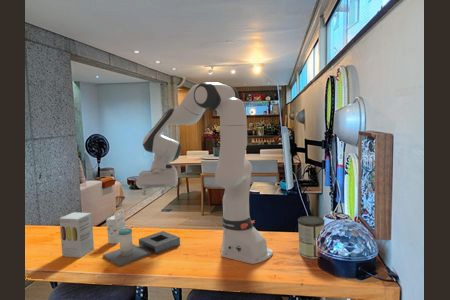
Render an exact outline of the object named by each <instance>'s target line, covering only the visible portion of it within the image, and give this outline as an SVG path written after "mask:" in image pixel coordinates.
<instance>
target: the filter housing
mask: <svg viewBox="0 0 450 300" xmlns="http://www.w3.org/2000/svg"><path fill="white" fill-rule="evenodd" d="M180 245H181V237H180V236H177V235H175V234H172V233H170V232H167V231H164V230H162V231H159V232H156V233H153V234H150V235H147V236H144V237H141V238H138V247H140V248H142V249H144V250H146V251H148V252H150V254H154V255H159V254H160V253H163V252H165V251H168V250H171V249H173V248H177V247H179V246H180Z"/></svg>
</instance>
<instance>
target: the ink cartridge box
mask: <svg viewBox="0 0 450 300" xmlns="http://www.w3.org/2000/svg"><path fill="white" fill-rule="evenodd" d="M124 209H125V208H120V209H119V210H117V211H115V212H114V214H113V215H112V216H110V217H108V218H107V219H106V220H105V222H106V231H107V241H108V242H107V243H108V244H120V239H119V232H118V231H119V230H121V229H125V228H126V227H127V226H126V216H125V210H124Z"/></svg>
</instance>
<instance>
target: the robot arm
mask: <svg viewBox="0 0 450 300" xmlns="http://www.w3.org/2000/svg"><path fill="white" fill-rule="evenodd" d="M185 94H186V95H184V97H183V99H182V101H181V102H180V103H179V105H177V106H175V107H170V108H169V109H167V111H166V112H165V113H164V114H163V115H162V116H161V118H160V119H159V120H158V122H156V124H155V125H154V127H153V128H152V129H151V130H149V132H148V133H146V135H145V136H144V137H143V140H142V146H143V149H144V150H145V151H146V152H149V153H153V154H154V157H153V161H152V163H151V165H150V166H151V167H150V169H149V170H142V171H141V172H139V173H138V176H137V179H136V180H135V185H136V186H137V188H138V189H142V195H143V196H147V195H148V191H147V189H150V188H152V189H153V188H154V189H155V188H156V189H157V188H164V189H162V190H161V195H162V196H164V195H166V194H167V191H168V190H169V189H170V188H176V187H177V186H178V183H179V182H178V181H179V177H178V175H179V174H178V169H177V168H176V166H175V165H173V164H171V162H175V161H176V160H178V159H179V157H180V154H181V152H182V146H181V143H180V142H179V141H178V140H175V139H172V138H170V137H169V136H165V135H162V133H163V132H164V131H165V130H166V128H168V126H170V125H181V126H182V125H183V126H192V125H194V124H197V123H198V122H199V121H200V119H201V118H202V117H203V115H204V113H205V111H206V110H208V111H211V112H214V111H216V112H217V113H218V114H219V131H220V132H219V133H220V134H219V135H220V138H219V139H220V142H219V143H220V144H219V154H218V160H217V167H216V170H215V171H214V179H215V182H216V183H217V185H218V186H220V187H221V188H223V189H224V192H223V193H224V194H223V196H222V213H223V214H222V220H221V222H222V225H221V226H222V227H223V229H222V230H223V232H222V239H221V240H222V241H221V247H220V252H221V253H220V256H221V257H223V258H227V259H231V260H235V261H238V262H242V263H246V264H250V265H254V264H255V265H256V264H260V263H262V262H264V261H267V260H268V259H269V258H271V257H272V256H273V253H274V251H273V250H272V249H271V248H268V244H267V240H266V238H265V236H263V235H262V234H261V233H260V232H259V231H258V230H257V229H256V227H255V226H254V224H255V223H256V222H255V221H256V220H255V219H254V220H252V218H251V216H250V192H251V191H250V190H251V182H252V181H251V180H252V172H253V166H252V163H251V162H250V160H248V158H246V157H245V156H246V150H247V146H248V119H247V111H246V106H245V103H244V101H243V100H241V99H240V95H239V91H238V90H237V88H236V87H234V86H233V85H230V84H223V83H221V82H208V81H206V82H202V83H198V84H197V83H196V84H195V85H193V86H191V88H190V89H188V92H186V93H185Z"/></svg>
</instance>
